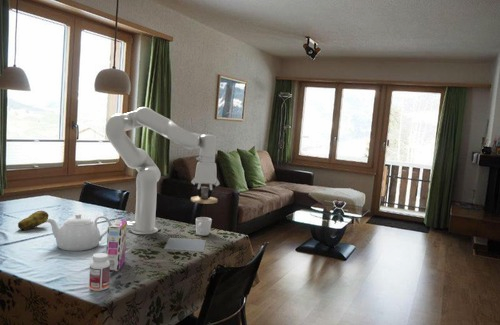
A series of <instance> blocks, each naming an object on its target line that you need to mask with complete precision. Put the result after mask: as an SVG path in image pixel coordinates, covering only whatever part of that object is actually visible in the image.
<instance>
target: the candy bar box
mask: <svg viewBox="0 0 500 325" xmlns="http://www.w3.org/2000/svg"><path fill="white" fill-rule="evenodd" d="M127 222H128V220H123V219H121V220H120V219H115V220H114V221H113V222H112V223H111V225H110V226H109V225H108V226H107V229H108V232H107V240H106V254H108V259H107V260H108V261H109V262H110V272H119V271H120V269H121V267H122V266H123V264H124V263H125V260H126V246H127V233H128V232H127V231H128V227H127Z"/></svg>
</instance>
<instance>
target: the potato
mask: <svg viewBox="0 0 500 325" xmlns="http://www.w3.org/2000/svg"><path fill="white" fill-rule="evenodd" d="M48 219H49V214H48V212H46V211H44V210H38V211H35V212H33V213H32V214H30V215H29V216H28V217H25V218H24V219H22V220H20V221H19V222H18V223H17V228H18V229H20V230H22V229H25V230H29V229H28V228H31V229H34V227H35V228H36V227H39V226H41V225H42V224H46V223H47V222H46V221H47V220H48Z"/></svg>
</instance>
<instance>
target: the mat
mask: <svg viewBox="0 0 500 325" xmlns="http://www.w3.org/2000/svg"><path fill="white" fill-rule="evenodd" d="M206 242H207V241H206V239H197V238H196V239H194V238H181V237H179V238H178V237H169V238H168V240H167V242H166V244H165V246H164V248H163V250H171V251H172V250H173V251H187V252H202V253H203V252H204V251H205V246H206Z"/></svg>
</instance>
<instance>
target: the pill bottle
mask: <svg viewBox="0 0 500 325" xmlns="http://www.w3.org/2000/svg"><path fill="white" fill-rule="evenodd" d="M107 259H108V254H106V253H105V252H97V253H93V255H92V261H91V262H90V264H89V282H88V284H89V286H88V287H89V289H90V290H91V291H95V292H101V291H105V290H108V288H109V287H110V274H111V271H110V262H109V261H108V260H107Z"/></svg>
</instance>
